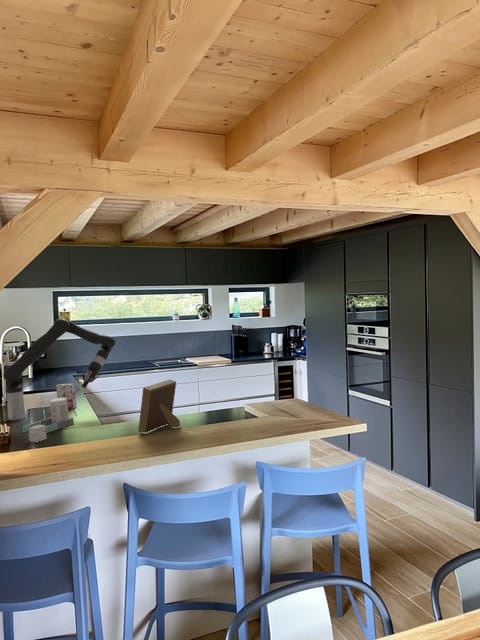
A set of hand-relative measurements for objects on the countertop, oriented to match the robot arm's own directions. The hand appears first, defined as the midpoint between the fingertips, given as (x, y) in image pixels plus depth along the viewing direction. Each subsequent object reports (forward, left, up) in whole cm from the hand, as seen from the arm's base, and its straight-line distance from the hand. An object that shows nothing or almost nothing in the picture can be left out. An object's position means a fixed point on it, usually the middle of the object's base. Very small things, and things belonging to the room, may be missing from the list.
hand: (83, 387), depth 293 cm
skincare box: (+15, -45, -18) cm, 51 cm away
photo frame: (+69, -9, -18) cm, 72 cm away
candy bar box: (-30, +11, -18) cm, 37 cm away
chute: (0, -27, -18) cm, 32 cm away
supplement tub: (0, -19, -18) cm, 26 cm away
